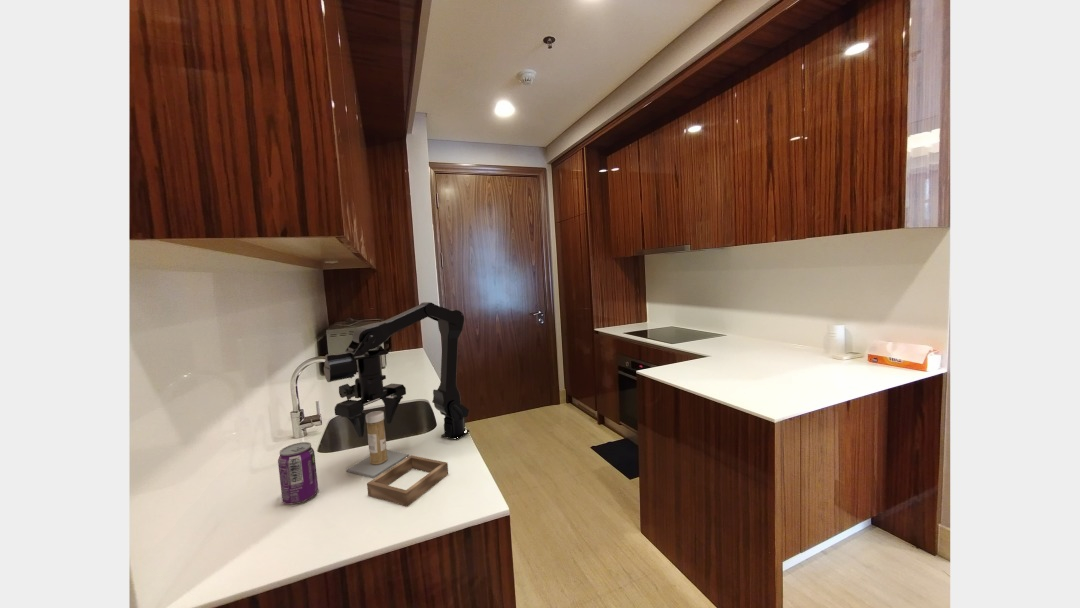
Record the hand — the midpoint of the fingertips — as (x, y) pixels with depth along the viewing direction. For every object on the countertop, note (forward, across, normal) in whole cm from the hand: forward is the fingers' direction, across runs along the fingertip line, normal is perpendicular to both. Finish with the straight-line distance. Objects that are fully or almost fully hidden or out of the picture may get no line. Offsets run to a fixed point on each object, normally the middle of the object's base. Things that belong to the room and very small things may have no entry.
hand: (375, 429), depth 100 cm
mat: (+10, 0, 0) cm, 10 cm away
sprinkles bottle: (+9, 0, 0) cm, 9 cm away
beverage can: (+10, +18, -5) cm, 21 cm away
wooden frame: (+10, +5, +16) cm, 19 cm away
